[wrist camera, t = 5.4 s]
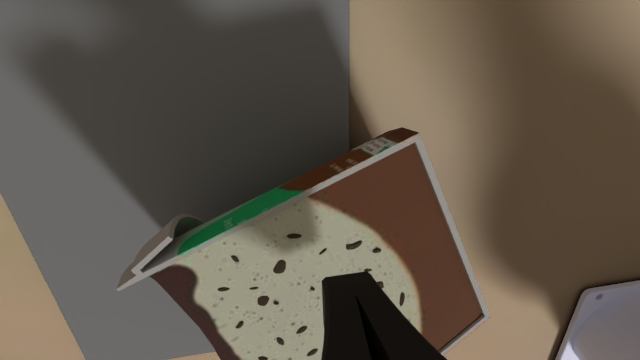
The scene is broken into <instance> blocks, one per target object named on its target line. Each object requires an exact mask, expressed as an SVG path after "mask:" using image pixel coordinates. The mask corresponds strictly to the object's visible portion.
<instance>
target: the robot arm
mask: <svg viewBox="0 0 640 360" xmlns="http://www.w3.org/2000/svg"><path fill="white" fill-rule="evenodd" d="M322 301H323V323H324V342H323V350H322V358H321V360H447V359H446V358H445V357H444V356H443V355H442V354H441V353H440V352H439V351H438V350H437V349H435V348H434V347H433V346H432V345H431V344H430V343H429V342H428V341H427V340H426V339H425V337H424V336H423V335H422V334H421V333H420V332H419V331H418V330H417V329H416V328H415V327H414V326H413V325H412V324H411V323H410V321H409V320H408V319H407V318H406V317H405V316H404V315H403V314H402V313H401V311H400V310H399V309H398V308H397V307H396V306H395V304H394V303H393V302H392V301H391V300H390V298H389V297H388V296H387V295H386V294H385V292H384V291H383V290H382V288H381V287H380V286H379V285H378V283H377V282H376V281H375V279H374V278H373V277H372V275H371V274H370V273H369V272H367V271H365V272H358V273H351V274H344V275H337V276H330V277H325V278H324V279H323V280H322ZM555 360H640V280H639V281H632V282H626V283H620V284H614V285H608V286H602V287H595V288H589V289H587V290H585V291H584V292H583V293H582V294H581V296H580V299H579V301H578V304H577V306H576V309H575V311H574V314H573V316H572V319H571V321H570V324H569V326H568V329H567V331H566V334H565V336H564V339H563V341H562V344H561V346H560V349H559V351H558V354H557V357H556V359H555Z"/></svg>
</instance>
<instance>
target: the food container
mask: <svg viewBox="0 0 640 360" xmlns="http://www.w3.org/2000/svg"><path fill="white" fill-rule="evenodd" d="M365 271H367V272H369V273H370V274H371V275H372V277H373V278H374V279H375V281H376V282H377V283H378V285H379V286H380V287H381V288H382V290H383V291H384V292H385V294H386V295H387V296H388V297H389V298H390V300H391V301H392V302H393V303H394V304H395V306H396V307H397V308H398V309H399V310H400V311H401V313H402V314H403V315H404V316H405V317H406V318H407V319H408V320H409V321H410V323H411V324H412V325H413V326H414V327H415V328H416V329H417V330H418V331H419V332H420V333H421V334H422V335H423V336H424V337H425V339H426V340H427V341H428V342H429V343H430V344H431V345H432V346H433V347H434V348H435V349H437V350H438V351H439V352H440V353H441V354H442V355H444V354H446V353H447V352H448V351H449V350H451V349H452V348H453V347H454V346H455V345H457V344H458V343H459V342H460V341H462V340H463V339H464V338H465V337H466V336H468V335H469V334H470V333H471V332H473V331H474V330H475V329H476V328H477V327H479V326H480V325H481V324H482V323H484V322H485V321H486V320H487V319H489V318H490V317H491V316H490V314H489V311H488V308H487V306H486V303H485V301H484V298H483V296H482V293H481V290H480V288H479V285H478V283H477V280H476V278H475V275H474V272H473V270H472V267H471V265H470V262H469V259H468V257H467V254H466V252H465V249H464V247H463V244H462V241H461V239H460V236H459V234H458V231H457V229H456V226H455V223H454V221H453V218H452V216H451V213H450V210H449V208H448V205H447V203H446V200H445V198H444V195H443V192H442V190H441V187H440V185H439V182H438V180H437V177H436V174H435V172H434V169H433V167H432V164H431V161H430V159H429V156H428V154H427V151H426V149H425V146H424V143H423V141H422V138H421V136H420V133H419V132H415V131H412V130H409V129H405V128H398V129H395V130H391V131H388V132H386V133H384V134H382V135H380V136H378V137H376V138H374V139H372V140H370V141H368V142H366V143H364V144H362V145H360V146H358V147H356V148H354V149H352V150H350V151H348V152H346V153H344V154H342V155H340V156H338V157H336V158H334V159H332V160H330V161H328V162H326V163H324V164H322V165H320V166H318V167H316V168H314V169H312V170H310V171H308V172H306V173H304V174H302V175H300V176H298V177H296V178H294V179H292V180H290V181H288V182H286V183H284V184H282V185H280V186H278V187H276V188H274V189H272V190H270V191H268V192H266V193H264V194H262V195H260V196H258V197H256V198H254V199H252V200H250V201H248V202H246V203H244V204H242V205H240V206H238V207H236V208H234V209H232V210H230V211H228V212H226V213H224V214H222V215H220V216H218V217H216V218H214V219H212V220H210V221H208V222H206V223H205V222H203V221H202V220H200V219H199V218H197V217H195V216H193V215H190V214H183V213H182V214H180V215H178V216H176V217H174V218H173V219H172V220H171V221H170V222H169V223H168V224H167V225H166V226H165V227H164V228H162V229H161V230H160V231H159V232H158V233H157V234H156V235H155V236H154V237H153V238H152V239H151V240H149V241H148V242H147V243H146V244H145V245H144V246H143V247H142V248H141V250H140V251H139V252H138V254H137V255H136V257H135V259H134V262H133V263H131V264H130V265H129V266H128V267H127V269H126V270H125V271H124V273H123V274H122V276H121V278H120V281H119V284H118V286H117V290H118V291H120V290H122V289H124V288H126V287H128V286H130V285H132V284H134V283H136V282H138V281H140V280H142V279H144V278H146V277H148V276H149V277H151V278H152V279H154V280H155V281H156V282H157V283H158V284H159V285H160V286H161V287H162V288H163V289H164V290H165V291H166V292H167V293H168V294H169V295H170V296H171V298H172V299H173V300H174V301H175V302H176V303H177V304H178V305H179V306H180V307H181V308H182V309H183V311H184V312H185V313H186V314H187V315H188V316H189V317H190V318H191V319H192V320H193V321H194V322H195V323H196V325H197V326H198V327H199V328H200V329H201V331H202V332H203V333H204V335H205V336H206V338H207V339H208V340H209V342H210V343H211V344H212V346H213V347H214V349H215V351H216V352H217V354H218V356H219V357H220V359H221V360H321V358H322V350H323V342H324V323H323V301H322V280H323V279H324V278H325V277H330V276H337V275H344V274H351V273H358V272H365Z"/></svg>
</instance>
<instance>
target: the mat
mask: <svg viewBox="0 0 640 360" xmlns="http://www.w3.org/2000/svg"><path fill="white" fill-rule="evenodd" d="M348 151H349V0H0V192H1V194H2V196H3V198H4V200H5V202H6V204H7V206H8V208H9V210H10V212H11V214H12V216H13V218H14V220H15V222H16V224H17V226H18V228H19V230H20V232H21V234H22V236H23V238H24V239H25V241H26V243H27V245H28V247H29V249H30V251H31V253H32V255H33V257H34V259H35V261H36V263H37V265H38V267H39V269H40V271H41V273H42V275H43V277H44V279H45V281H46V283H47V284H48V286H49V288H50V290H51V292H52V294H53V296H54V298H55V300H56V302H57V304H58V306H59V308H60V310H61V312H62V314H63V316H64V318H65V320H66V322H67V324H68V326H69V328H70V330H71V331H72V333H73V335H74V337H75V339H76V341H77V343H78V345H79V347H80V349H81V351H82V353H83V355H84V357H85V359H86V360H166V359H172V358H178V357H184V356H191V355H197V354H203V353H209V352H215V349H214V347H213V346H212V344H211V343H210V342H209V340H208V339H207V338H206V336H205V335H204V333H203V332H202V331H201V329H200V328H199V327H198V326H197V325H196V323H195V322H194V321H193V320H192V319H191V318H190V317H189V316H188V315H187V314H186V313H185V312H184V311H183V309H182V308H181V307H180V306H179V305H178V304H177V303H176V302H175V301H174V300H173V299H172V298H171V296H170V295H169V294H168V293H167V292H166V291H165V290H164V289H163V288H162V287H161V286H160V285H159V284H158V283H157V282H156V281H155V280H154V279H152V278H151V277H149V276H148V277H146V278H144V279H142V280H140V281H138V282H136V283H134V284H132V285H130V286H128V287H126V288H124V289H122V290H120V291H118V290H117V286H118V284H119V281H120V278H121V276H122V274H123V273H124V271H125V270H126V269H127V267H128V266H129V265H130V264H131V263H133V262H134V259H135V257H136V255H137V254H138V252H139V251H140V250H141V248H142V247H143V246H144V245H145V244H146V243H147V242H148V241H149V240H151V239H152V238H153V237H154V236H155V235H156V234H157V233H158V232H159V231H160V230H161V229H162V228H164V227H165V226H166V225H167V224H168V223H169V222H170V221H171V220H172V219H173V218H174V217H176V216H178V215H180V214H182V213H183V214H190V215H193V216H195V217H197V218H199V219H200V220H202V221H203V222H205V223H206V222H208V221H210V220H212V219H214V218H216V217H218V216H220V215H222V214H224V213H226V212H228V211H230V210H232V209H234V208H236V207H238V206H240V205H242V204H244V203H246V202H248V201H250V200H252V199H254V198H256V197H258V196H260V195H262V194H264V193H266V192H268V191H270V190H272V189H274V188H276V187H278V186H280V185H282V184H284V183H286V182H288V181H290V180H292V179H294V178H296V177H298V176H300V175H302V174H304V173H306V172H308V171H310V170H312V169H314V168H316V167H318V166H320V165H322V164H324V163H326V162H328V161H330V160H332V159H334V158H336V157H338V156H340V155H342V154H344V153H346V152H348Z"/></svg>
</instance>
